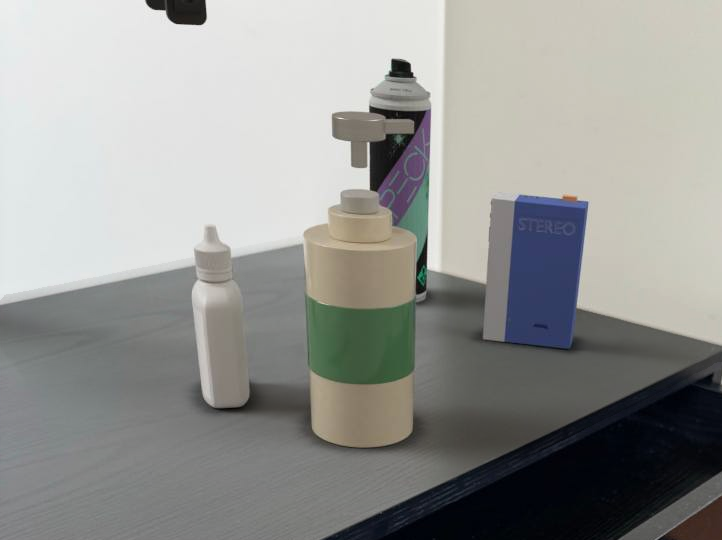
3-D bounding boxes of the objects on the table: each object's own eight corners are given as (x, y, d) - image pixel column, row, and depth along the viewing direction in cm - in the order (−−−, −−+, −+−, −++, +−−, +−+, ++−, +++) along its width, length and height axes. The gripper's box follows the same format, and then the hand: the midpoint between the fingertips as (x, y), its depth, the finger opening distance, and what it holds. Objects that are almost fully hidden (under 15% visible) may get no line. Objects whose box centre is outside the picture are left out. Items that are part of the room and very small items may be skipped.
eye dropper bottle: (181, 404, 71) (159, 230, 64) (217, 378, 75) (200, 213, 68) (236, 414, 70) (220, 239, 63) (269, 387, 74) (258, 220, 67)
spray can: (359, 292, 95) (356, 56, 84) (403, 284, 98) (405, 55, 87) (393, 307, 92) (395, 63, 80) (437, 298, 95) (445, 62, 83)
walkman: (572, 339, 87) (589, 196, 80) (569, 349, 85) (586, 203, 78) (487, 329, 88) (496, 187, 81) (481, 339, 86) (490, 193, 79)
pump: (341, 172, 58) (340, 119, 56) (326, 161, 60) (325, 111, 58) (420, 171, 60) (421, 119, 58) (402, 160, 62) (403, 111, 60)
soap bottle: (327, 453, 65) (318, 208, 56) (299, 412, 71) (287, 181, 62) (428, 441, 68) (435, 204, 59) (393, 402, 73) (395, 179, 64)
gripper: (51, -345, 54) (98, 3, 63) (74, -400, 43) (126, 26, 53) (190, -321, 57) (214, 9, 66) (242, -368, 46) (262, 32, 56)
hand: (175, 16), depth 60 cm, fingers open, 8 cm apart
